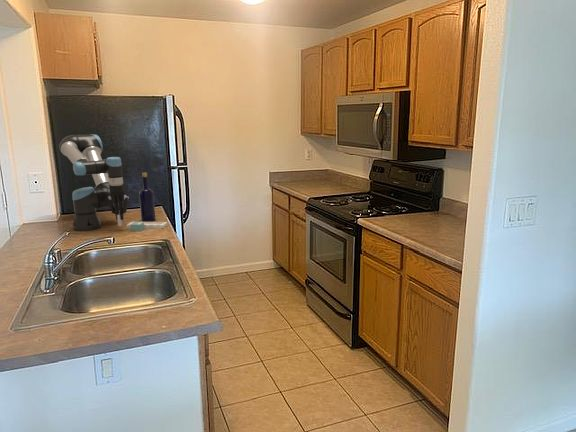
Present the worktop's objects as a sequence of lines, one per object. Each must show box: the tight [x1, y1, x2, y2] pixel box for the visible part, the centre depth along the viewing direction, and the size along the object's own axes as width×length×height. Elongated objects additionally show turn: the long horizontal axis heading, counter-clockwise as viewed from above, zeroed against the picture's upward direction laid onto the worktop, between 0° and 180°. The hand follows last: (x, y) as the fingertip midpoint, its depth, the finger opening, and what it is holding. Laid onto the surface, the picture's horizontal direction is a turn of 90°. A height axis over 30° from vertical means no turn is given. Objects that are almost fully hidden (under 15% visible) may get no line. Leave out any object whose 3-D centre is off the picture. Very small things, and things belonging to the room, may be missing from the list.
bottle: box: [138, 172, 157, 222], centre depth 266 cm, size 9×9×30 cm
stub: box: [130, 221, 144, 232], centre depth 247 cm, size 6×5×4 cm
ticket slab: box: [125, 221, 169, 230], centre depth 254 cm, size 22×8×2 cm, turn 87°
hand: (120, 225), depth 247 cm, fingers closed
